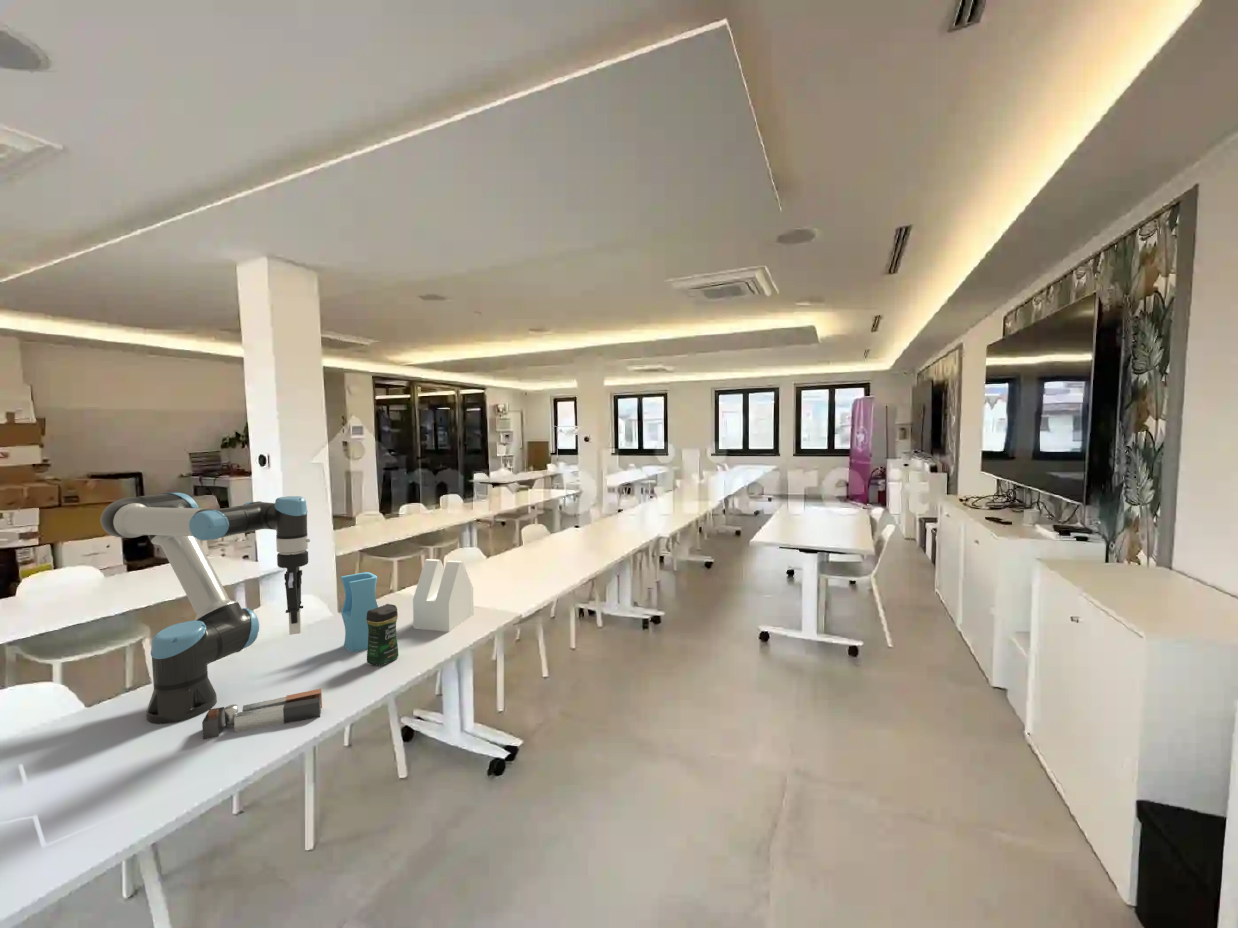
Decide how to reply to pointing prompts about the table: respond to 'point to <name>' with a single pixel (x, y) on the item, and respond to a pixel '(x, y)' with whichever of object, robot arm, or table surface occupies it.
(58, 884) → the table surface
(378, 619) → the coffee jar
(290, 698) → the tongs arm
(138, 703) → the table surface
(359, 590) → the vase
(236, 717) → the tongs fixed
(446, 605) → the white slotted block
